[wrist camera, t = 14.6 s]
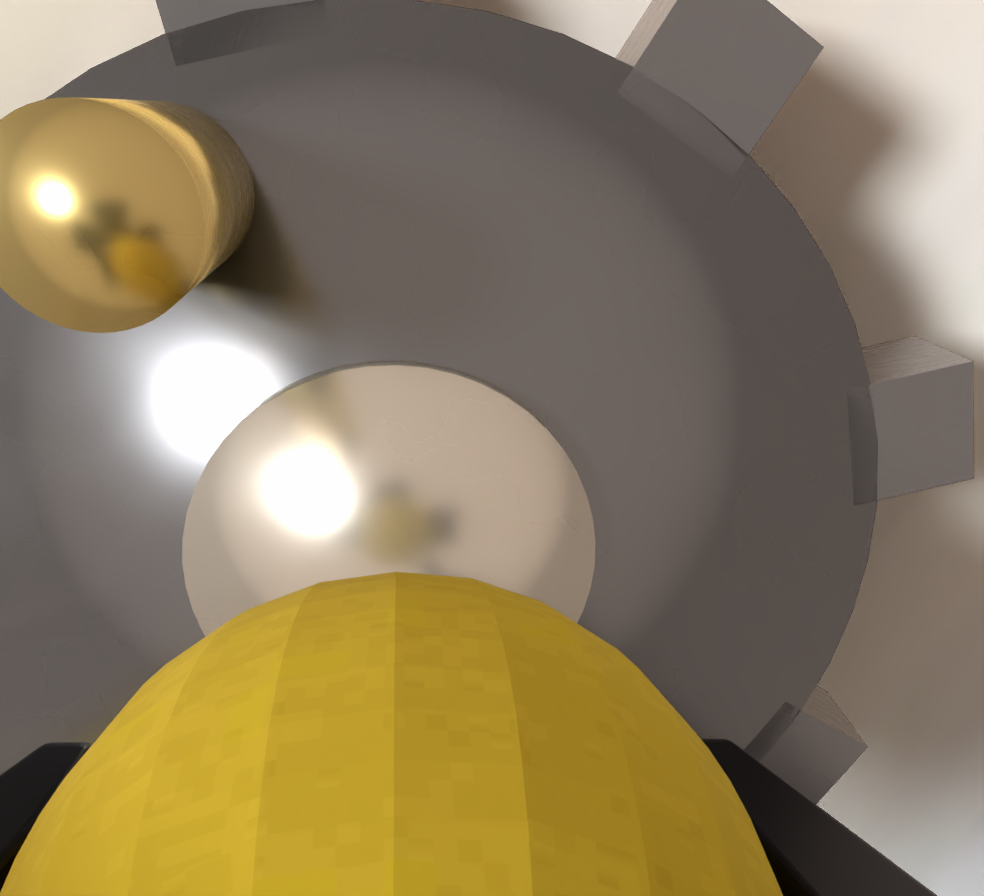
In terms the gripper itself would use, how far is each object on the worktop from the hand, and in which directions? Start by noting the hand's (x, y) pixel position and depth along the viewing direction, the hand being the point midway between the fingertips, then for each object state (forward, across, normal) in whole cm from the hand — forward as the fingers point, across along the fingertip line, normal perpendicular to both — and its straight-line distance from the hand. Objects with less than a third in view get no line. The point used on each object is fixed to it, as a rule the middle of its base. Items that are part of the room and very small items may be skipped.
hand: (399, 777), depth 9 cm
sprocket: (+6, 0, 0) cm, 6 cm away
